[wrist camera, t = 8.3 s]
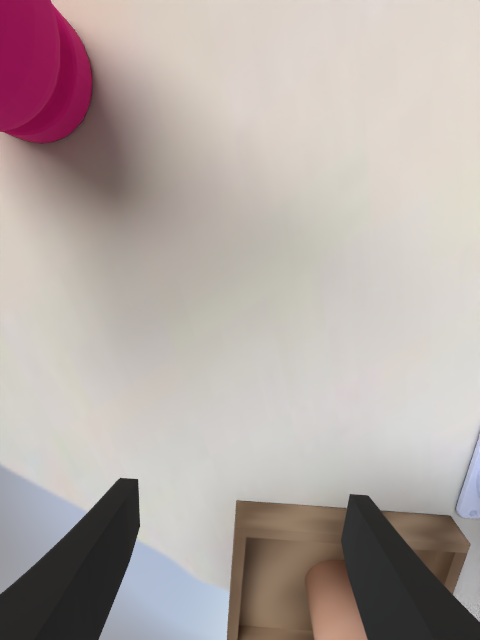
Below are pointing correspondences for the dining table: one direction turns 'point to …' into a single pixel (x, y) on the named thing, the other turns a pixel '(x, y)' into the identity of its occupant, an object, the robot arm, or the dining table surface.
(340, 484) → the dining table surface
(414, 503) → the dining table surface
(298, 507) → the walnut tray
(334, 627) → the terracotta shaker
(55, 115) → the pepper mill
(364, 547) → the robot arm
